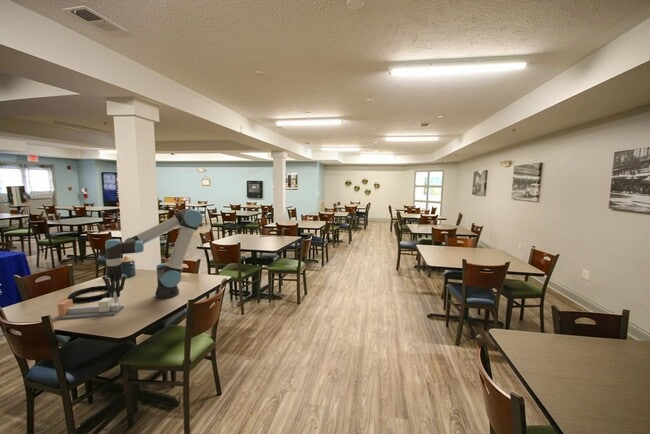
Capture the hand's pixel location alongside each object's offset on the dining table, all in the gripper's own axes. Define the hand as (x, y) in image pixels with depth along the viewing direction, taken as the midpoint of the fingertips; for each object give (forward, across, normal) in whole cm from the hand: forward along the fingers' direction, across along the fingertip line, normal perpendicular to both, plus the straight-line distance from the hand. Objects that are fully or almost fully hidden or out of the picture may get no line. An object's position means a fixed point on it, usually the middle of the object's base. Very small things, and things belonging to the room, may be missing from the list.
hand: (116, 302), depth 181 cm
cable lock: (+7, +29, -33) cm, 44 cm away
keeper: (+4, +6, 0) cm, 7 cm away
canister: (+6, +27, -80) cm, 85 cm away
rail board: (+6, +14, 0) cm, 15 cm away
